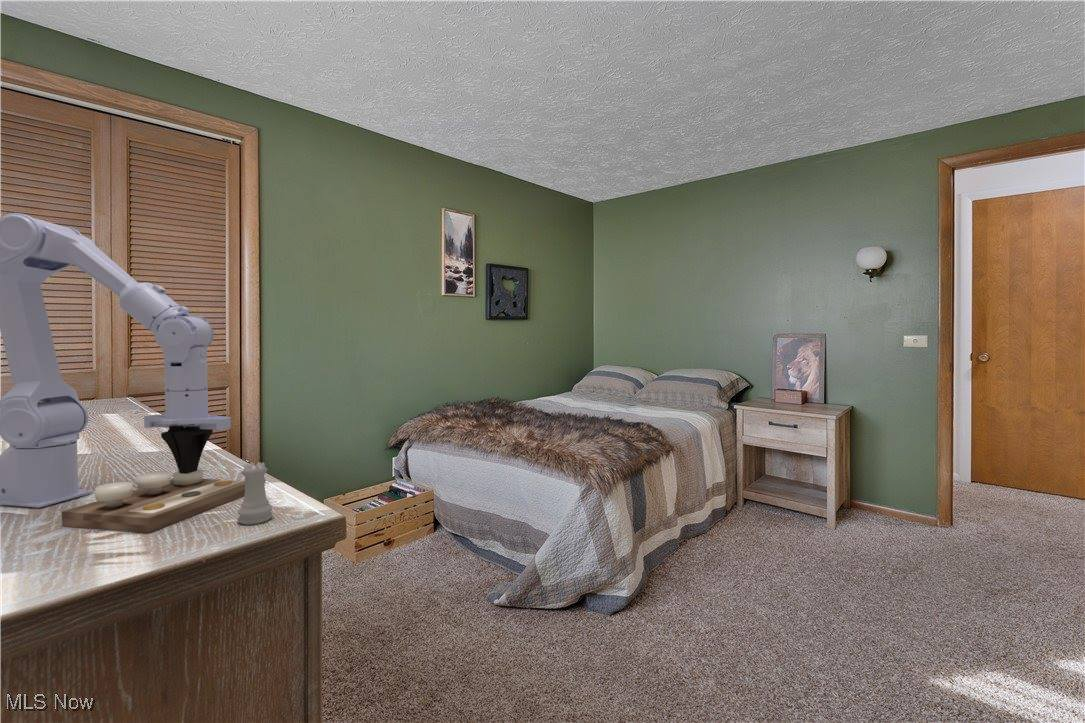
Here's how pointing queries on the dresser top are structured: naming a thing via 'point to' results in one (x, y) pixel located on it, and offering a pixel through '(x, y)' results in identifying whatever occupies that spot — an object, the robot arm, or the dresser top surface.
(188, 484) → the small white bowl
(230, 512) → the dresser top surface
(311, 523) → the dresser top surface
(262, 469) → the rook chess piece
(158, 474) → the button mid
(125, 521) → the board
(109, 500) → the button near
